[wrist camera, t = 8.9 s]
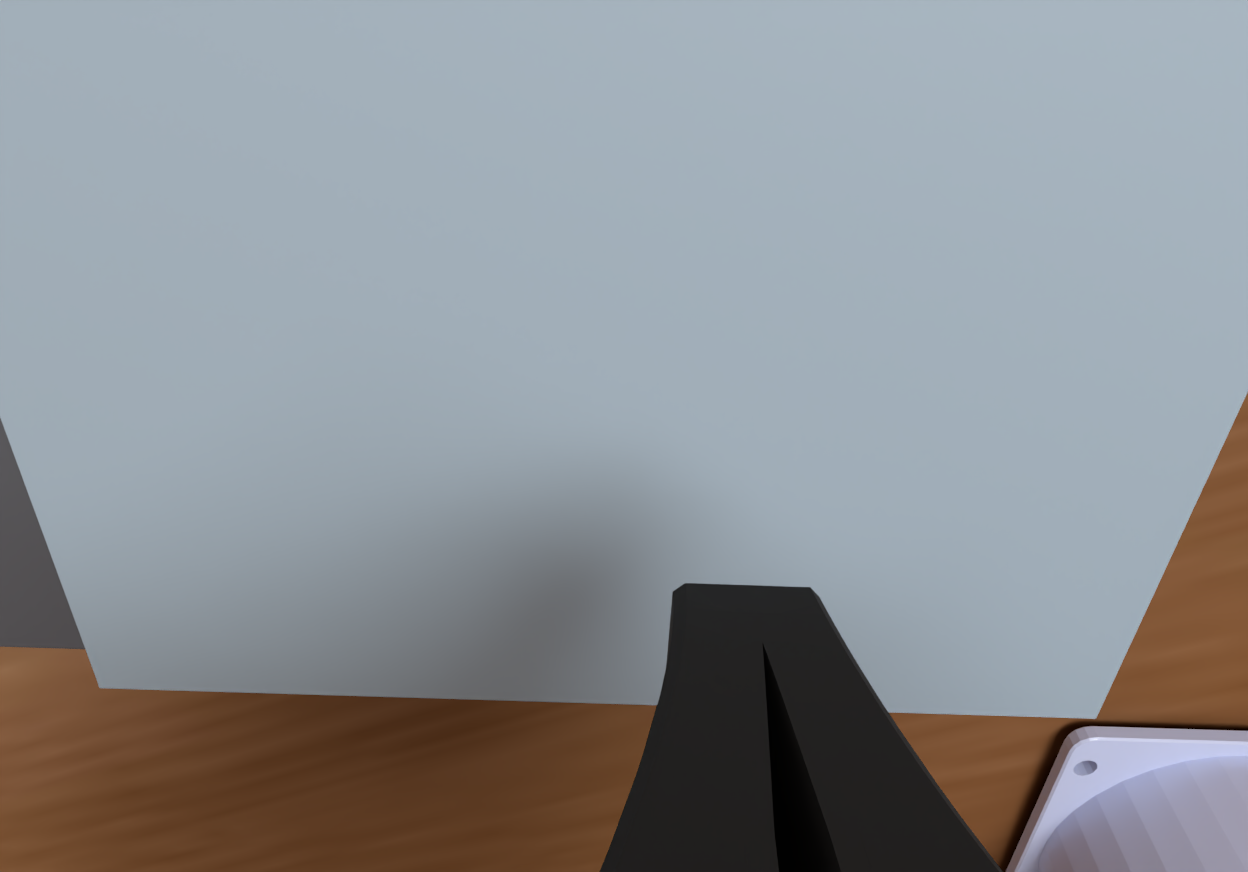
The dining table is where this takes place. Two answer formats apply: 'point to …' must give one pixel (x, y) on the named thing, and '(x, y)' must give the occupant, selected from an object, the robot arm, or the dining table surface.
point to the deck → (618, 331)
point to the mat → (28, 570)
